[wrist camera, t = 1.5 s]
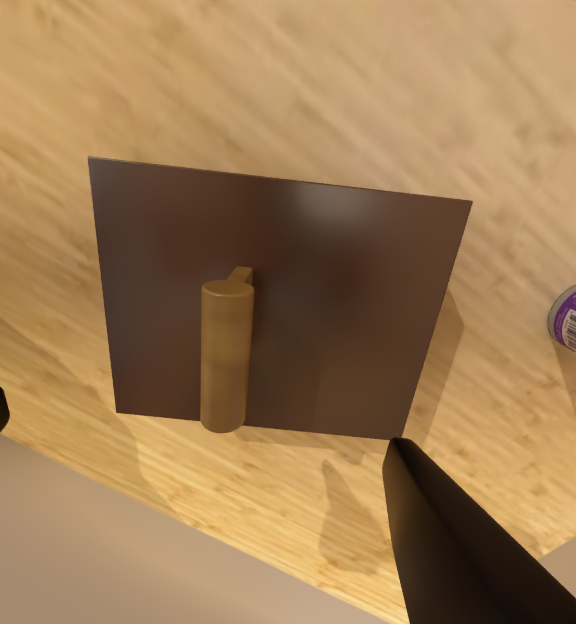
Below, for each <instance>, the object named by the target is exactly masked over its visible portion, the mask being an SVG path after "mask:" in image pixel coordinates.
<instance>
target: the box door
mask: <svg viewBox="0 0 576 624" xmlns="http://www.w3.org/2000/svg"><path fill="white" fill-rule="evenodd" d="M88 164H89V173H90V182H91V191H92V200H93V209H94V218H95V227H96V236H97V245H98V254H99V262H100V271H101V280H102V289H103V298H104V307H105V316H106V325H107V334H108V343H109V352H110V361H111V369H112V378H113V387H114V396H115V405H116V412H117V413H124V414H134V415H144V416H154V417H164V418H173V419H183V420H193V421H201V423H202V424H203V426H204V427H205V428H206V429H208V430H209V431H212V432H215V433H228V432H232V431H234V430H236V429H238V428H239V427H240V426H241V425H243V426H253V427H263V428H273V429H283V430H293V431H303V432H313V433H323V434H333V435H343V436H353V437H363V438H373V439H382V440H391V439H392V438H393V437H398V438H401V437H402V434H403V430H404V427H405V424H406V420H407V417H408V414H409V411H410V407H411V404H412V401H413V397H414V394H415V391H416V387H417V384H418V381H419V378H420V374H421V371H422V368H423V364H424V361H425V358H426V354H427V351H428V348H429V345H430V341H431V338H432V335H433V331H434V328H435V325H436V322H437V318H438V315H439V312H440V308H441V305H442V302H443V298H444V295H445V292H446V289H447V285H448V282H449V279H450V275H451V272H452V269H453V265H454V262H455V259H456V256H457V252H458V249H459V246H460V242H461V239H462V236H463V232H464V229H465V226H466V223H467V219H468V216H469V213H470V209H471V206H472V203H473V201H469V200H461V199H452V198H443V197H435V196H426V195H418V194H409V193H400V192H392V191H383V190H374V189H366V188H357V187H349V186H340V185H331V184H323V183H314V182H305V181H297V180H288V179H279V178H271V177H262V176H254V175H245V174H236V173H228V172H219V171H210V170H202V169H193V168H185V167H176V166H167V165H159V164H150V163H141V162H133V161H124V160H116V159H107V158H98V157H90V156H89V157H88Z"/></svg>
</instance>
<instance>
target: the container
mask: <svg viewBox="0 0 576 624" xmlns="http://www.w3.org/2000/svg"><path fill="white" fill-rule="evenodd" d="M548 328H549V332H550V334H551V335H552V337H553V338H554V339H555V340H556V341H557V342H559V343H561V344H562V345H564V346H565V347H567V348H569V349H571V350H572V351H574V352H576V285H575V286H574V287H572V288H570V289H569V290H567V291H566V292H565V293H564V294H563V295H562V296H560V297H559V299H558V300H557V301H556V302H555V304H554V305H553V307H552V309H551V311H550V314H549V318H548Z"/></svg>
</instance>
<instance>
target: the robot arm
mask: <svg viewBox="0 0 576 624" xmlns="http://www.w3.org/2000/svg"><path fill="white" fill-rule="evenodd" d="M9 418H10V413H9V409H8V405H7V401H6V397H5V393H4V390H3V389H2V388H1V387H0V432H1V431H2V430H3V429H4V427H5V426H6V425H7V423H8V421H9ZM382 474H383V482H384V489H385V497H386V504H387V512H388V519H389V527H390V534H391V541H392V547H393V552H394V557H395V562H396V566H397V571H398V575H399V579H400V583H401V588H402V592H403V596H404V600H405V605H406V609H407V613H408V617H409V622H410V624H576V598H575V597H574V596H573V595H572V594H571V593H570V592H569V591H568V590H566V588H564V586H562V585H561V584H560V583H559V582H558V581H557V580H556V579H555V578H554V577H553V576H552V575H551V574H550V573H549V572H548V571H547V570H546V569H545V568H544V567H543V566H542V565H541V564H540V563H539V562H538V561H537V560H536V559H534V558H533V557H532V556H531V555H530V554H529V553H528V552H527V551H526V550H525V549H524V548H523V547H522V546H521V545H520V544H519V543H518V542H517V541H516V540H515V539H514V538H513V537H512V536H511V535H510V534H509V533H507V532H506V531H505V530H504V529H503V528H502V527H501V526H500V525H499V524H498V523H497V522H496V521H495V520H494V519H493V518H492V517H491V516H490V515H489V514H488V513H487V512H486V511H485V510H484V509H483V508H482V507H480V506H479V505H478V504H477V503H476V502H475V501H474V500H473V499H472V498H471V497H470V496H469V495H468V494H467V493H466V492H465V491H464V490H463V489H462V488H461V487H460V486H459V485H458V484H457V483H456V482H455V481H453V480H452V479H451V478H450V477H449V476H448V475H447V474H446V473H445V472H444V471H443V470H442V469H441V468H440V467H439V466H438V465H437V464H436V463H435V462H434V461H433V460H432V459H431V458H430V457H429V456H428V455H427V454H425V453H424V452H423V451H422V450H421V449H420V448H419V447H418V446H417V445H416V444H415V443H414V442H413V441H412V440H410V439H406V438H398V437H393V438H392V439H391V440H390V442H389V445H388V449H387V452H386V456H385V459H384V462H383V468H382Z"/></svg>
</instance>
